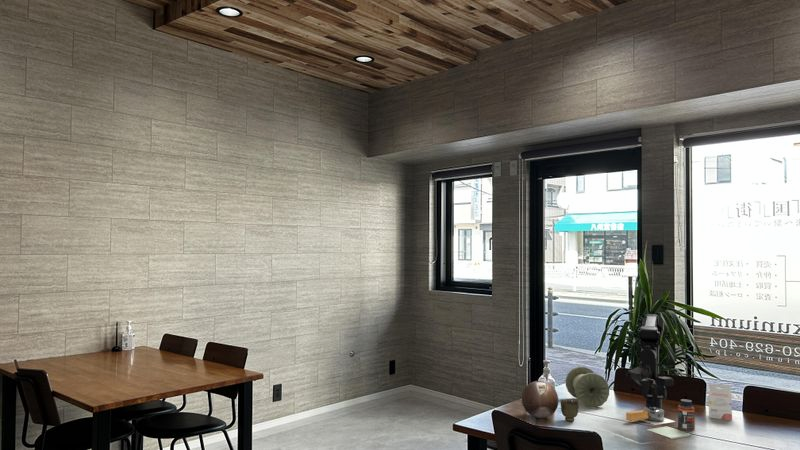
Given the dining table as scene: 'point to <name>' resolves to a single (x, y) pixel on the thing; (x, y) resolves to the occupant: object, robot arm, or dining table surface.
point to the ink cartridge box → (720, 401)
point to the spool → (587, 387)
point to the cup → (569, 409)
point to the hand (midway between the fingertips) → (649, 399)
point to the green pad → (669, 432)
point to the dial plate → (659, 422)
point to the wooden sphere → (540, 399)
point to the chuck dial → (646, 414)
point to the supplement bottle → (686, 415)
